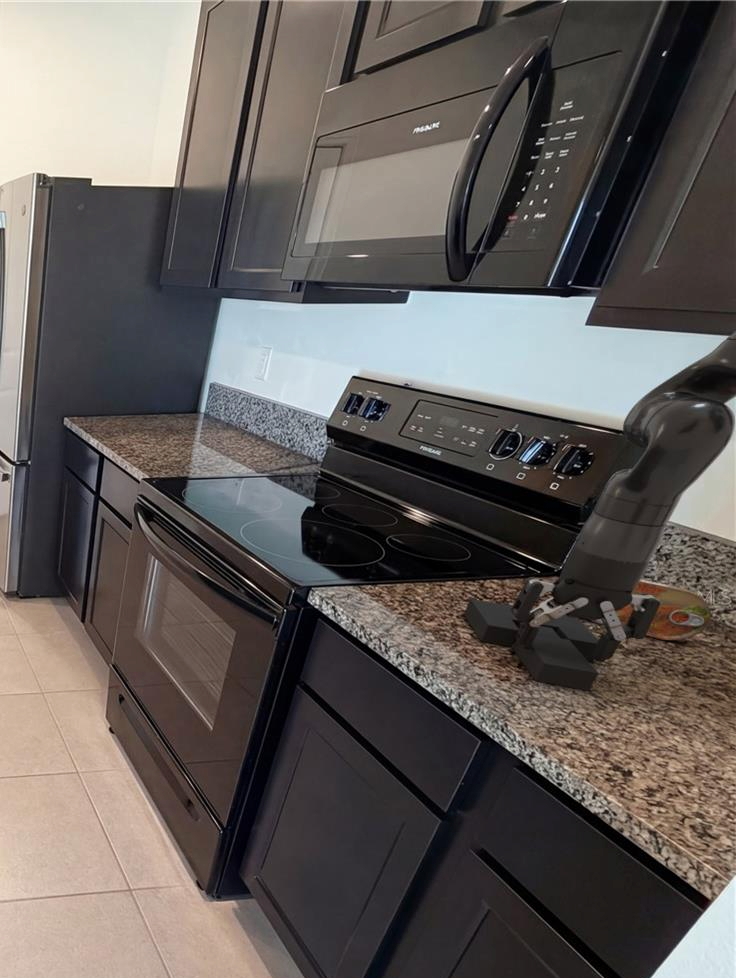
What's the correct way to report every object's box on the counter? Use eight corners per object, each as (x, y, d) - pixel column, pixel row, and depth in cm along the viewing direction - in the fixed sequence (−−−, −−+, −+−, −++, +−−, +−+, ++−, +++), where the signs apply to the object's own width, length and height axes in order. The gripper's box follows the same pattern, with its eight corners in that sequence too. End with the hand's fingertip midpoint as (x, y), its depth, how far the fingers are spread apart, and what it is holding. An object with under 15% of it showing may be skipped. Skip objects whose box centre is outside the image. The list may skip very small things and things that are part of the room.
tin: (566, 615, 111) (590, 570, 107) (568, 609, 113) (591, 565, 109) (693, 648, 102) (723, 601, 98) (692, 641, 104) (722, 594, 100)
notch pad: (566, 631, 106) (575, 615, 104) (593, 661, 98) (603, 644, 96) (463, 614, 111) (470, 598, 109) (480, 641, 102) (488, 624, 101)
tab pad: (551, 645, 102) (559, 629, 100) (588, 691, 90) (598, 673, 89) (504, 637, 104) (512, 621, 102) (535, 681, 93) (544, 663, 91)
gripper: (557, 550, 86) (508, 654, 94) (699, 568, 81) (636, 677, 89) (536, 532, 93) (491, 631, 100) (667, 548, 88) (610, 651, 95)
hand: (559, 652), depth 94 cm, fingers open, 8 cm apart
